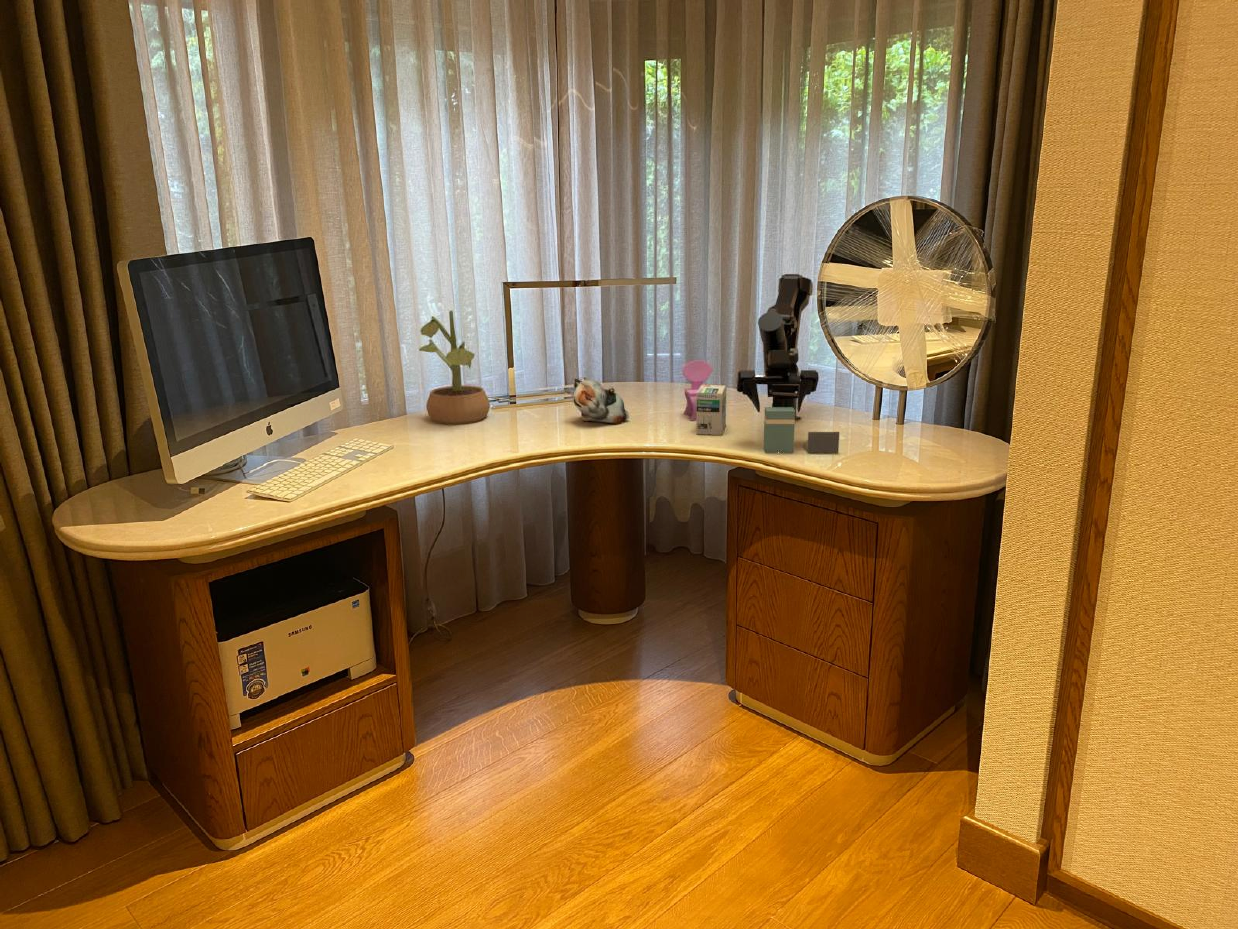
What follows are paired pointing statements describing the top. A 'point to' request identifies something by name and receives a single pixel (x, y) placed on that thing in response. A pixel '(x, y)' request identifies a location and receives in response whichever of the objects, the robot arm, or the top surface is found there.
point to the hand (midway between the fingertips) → (778, 411)
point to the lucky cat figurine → (598, 402)
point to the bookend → (822, 442)
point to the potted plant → (454, 382)
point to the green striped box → (779, 429)
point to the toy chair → (695, 383)
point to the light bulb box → (711, 410)
